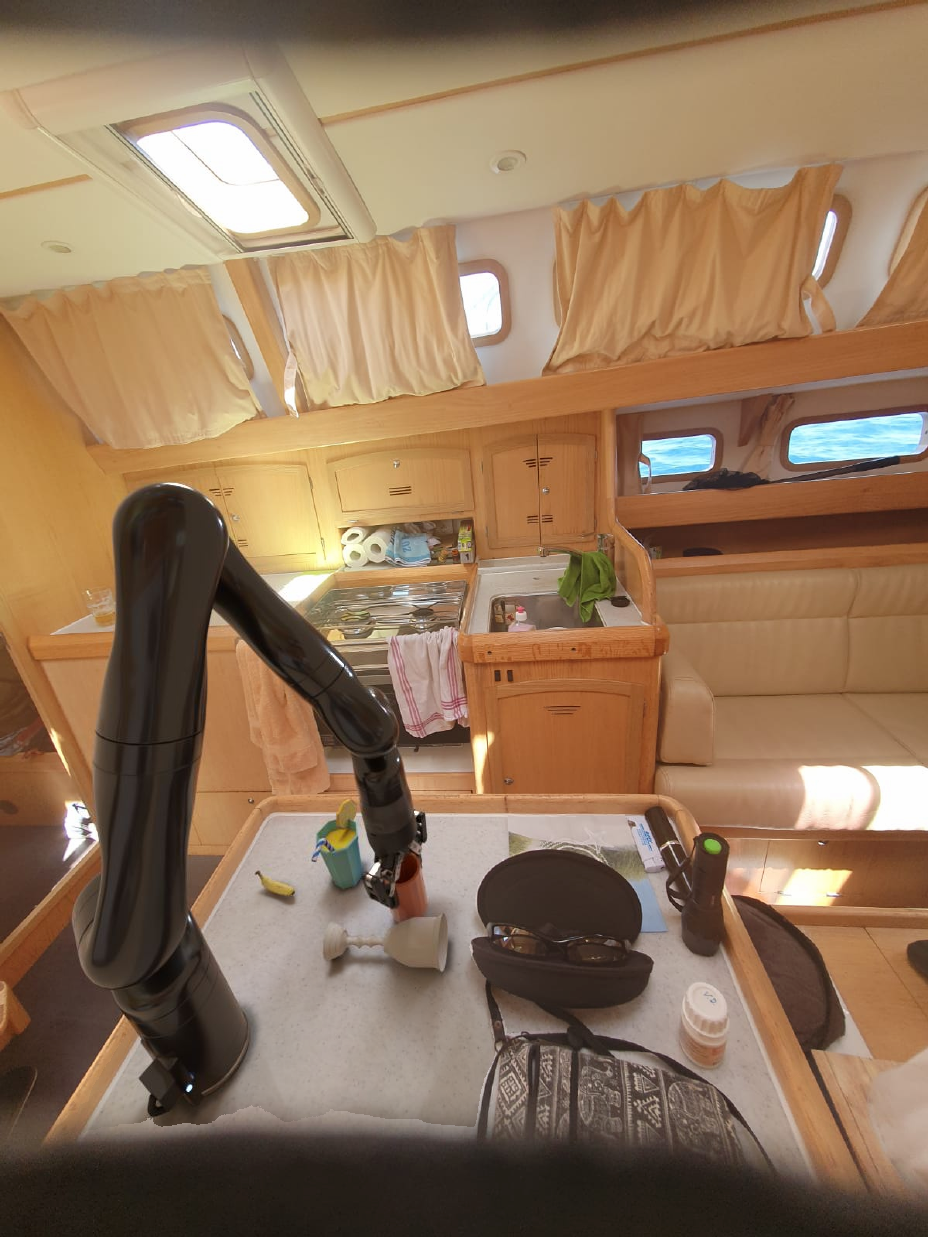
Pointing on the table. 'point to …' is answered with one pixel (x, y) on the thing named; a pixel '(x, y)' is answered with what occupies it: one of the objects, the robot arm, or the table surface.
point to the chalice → (398, 942)
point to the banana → (275, 886)
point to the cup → (341, 846)
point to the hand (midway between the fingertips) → (404, 886)
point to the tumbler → (410, 890)
